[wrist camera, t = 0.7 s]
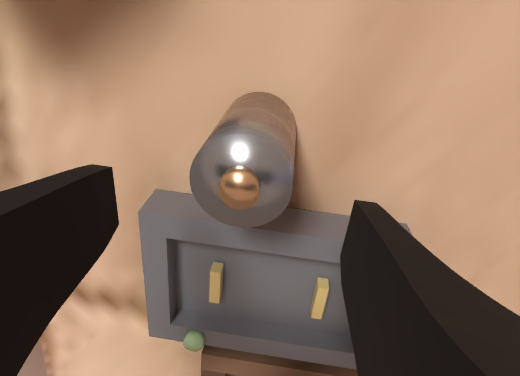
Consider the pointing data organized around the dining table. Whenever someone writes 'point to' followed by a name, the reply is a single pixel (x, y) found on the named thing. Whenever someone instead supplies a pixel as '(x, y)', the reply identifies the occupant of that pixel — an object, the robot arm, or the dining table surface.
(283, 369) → the shallow wooden tray
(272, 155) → the cell
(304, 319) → the grey tray with pegs
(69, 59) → the dining table surface
